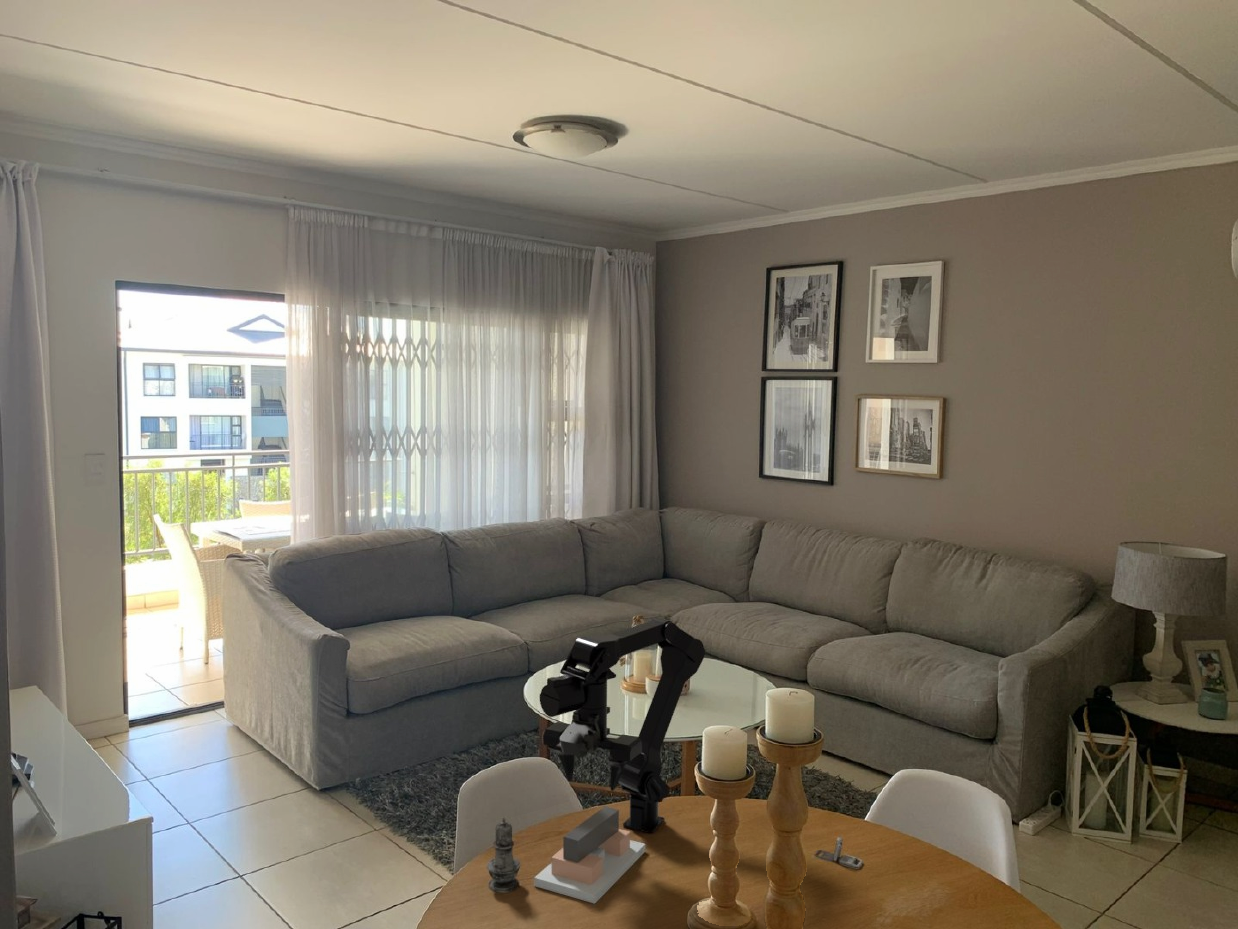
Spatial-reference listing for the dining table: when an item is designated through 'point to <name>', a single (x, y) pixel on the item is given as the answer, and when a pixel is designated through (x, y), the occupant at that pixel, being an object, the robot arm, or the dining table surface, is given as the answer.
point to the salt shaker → (503, 861)
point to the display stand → (591, 869)
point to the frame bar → (590, 834)
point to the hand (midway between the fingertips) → (591, 785)
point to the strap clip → (843, 860)
